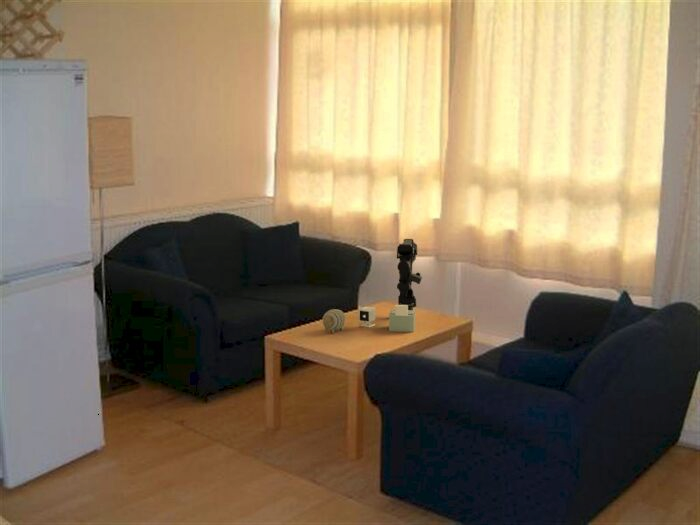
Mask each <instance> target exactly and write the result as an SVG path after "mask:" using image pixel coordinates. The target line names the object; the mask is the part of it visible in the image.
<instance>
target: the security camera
mask: <svg viewBox="0 0 700 525" xmlns="http://www.w3.org/2000/svg"><path fill="white" fill-rule="evenodd" d="M375 320H376V307H371V306H364V307H361V308H360V309H358V321H359V322H360V323H363V324H361V325H360V327H365V328H372V327H374V326H376V323H372V322H373V321H375Z"/></svg>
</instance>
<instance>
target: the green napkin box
mask: <svg viewBox="0 0 700 525" xmlns="http://www.w3.org/2000/svg"><path fill="white" fill-rule="evenodd" d="M389 315H395V309H391V310H390V312H389ZM389 315H388V316H389ZM408 315H412V316H414V330H415V328H416V311H415V310H414V309H413V310H408Z"/></svg>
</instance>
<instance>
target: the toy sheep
mask: <svg viewBox="0 0 700 525" xmlns="http://www.w3.org/2000/svg"><path fill="white" fill-rule="evenodd" d="M345 323H346V315H345V313H344V311H342V310H341V309H336V308H335V309H334V308H333V309H329V310H327V311H326V312H325V313H324V314H323V316H322V324H323V326H324V333H325V332H327V333H328V330H329V331H331V334H332V335H335V332H337V331H339V330H340V331H343V327H344V326H345Z"/></svg>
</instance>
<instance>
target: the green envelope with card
mask: <svg viewBox="0 0 700 525" xmlns="http://www.w3.org/2000/svg"><path fill="white" fill-rule="evenodd" d="M394 306H395V307H394V310H395V315H388V332H398V333H399V332H401V333H414V332H415V329H414V316H412V315H408V305H398V304H395V305H394Z"/></svg>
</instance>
